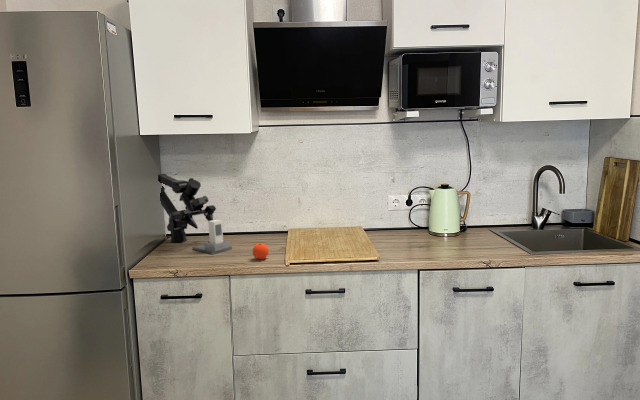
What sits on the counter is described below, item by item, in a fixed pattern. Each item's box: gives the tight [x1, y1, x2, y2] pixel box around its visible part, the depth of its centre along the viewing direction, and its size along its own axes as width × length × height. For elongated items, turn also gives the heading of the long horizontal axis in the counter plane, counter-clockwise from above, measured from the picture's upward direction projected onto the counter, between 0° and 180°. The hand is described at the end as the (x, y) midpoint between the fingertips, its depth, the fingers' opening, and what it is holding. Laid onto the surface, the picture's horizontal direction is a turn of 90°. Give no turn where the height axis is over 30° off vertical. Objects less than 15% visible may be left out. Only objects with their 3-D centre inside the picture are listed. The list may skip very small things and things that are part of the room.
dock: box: [192, 239, 233, 255], centre depth 232 cm, size 16×11×4 cm
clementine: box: [252, 242, 269, 260], centre depth 212 cm, size 8×7×7 cm
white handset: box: [207, 219, 224, 244], centre depth 229 cm, size 5×4×13 cm
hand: (205, 226), depth 234 cm, fingers open, 9 cm apart
